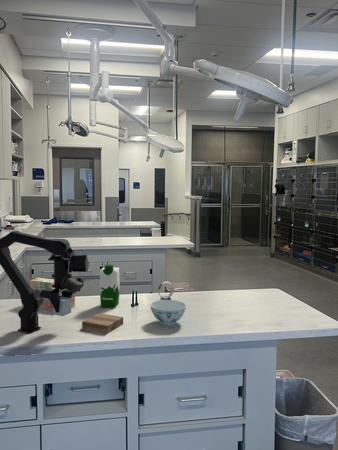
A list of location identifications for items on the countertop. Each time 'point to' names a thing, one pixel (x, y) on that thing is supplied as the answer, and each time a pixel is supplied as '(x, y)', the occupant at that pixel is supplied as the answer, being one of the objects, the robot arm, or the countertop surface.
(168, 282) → the watch
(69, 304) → the grey block
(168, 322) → the chinaware
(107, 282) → the milk carton
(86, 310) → the countertop surface
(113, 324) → the walnut base
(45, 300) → the stack of blocks
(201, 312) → the countertop surface
